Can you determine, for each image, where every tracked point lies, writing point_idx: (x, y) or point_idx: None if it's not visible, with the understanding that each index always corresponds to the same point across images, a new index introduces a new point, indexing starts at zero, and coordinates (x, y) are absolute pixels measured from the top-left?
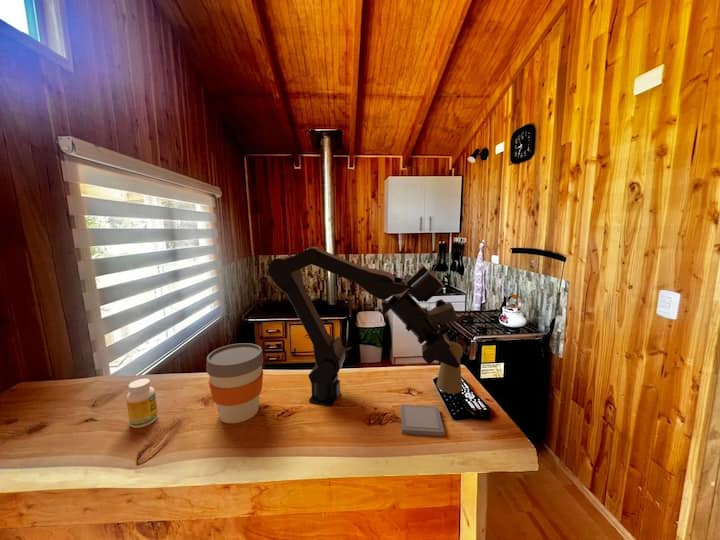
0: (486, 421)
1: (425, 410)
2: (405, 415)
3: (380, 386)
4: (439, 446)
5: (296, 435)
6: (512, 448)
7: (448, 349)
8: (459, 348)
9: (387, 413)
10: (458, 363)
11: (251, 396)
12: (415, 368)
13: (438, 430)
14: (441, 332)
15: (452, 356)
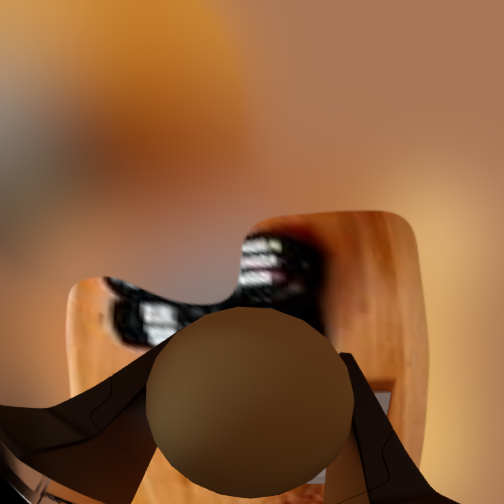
0: (332, 262)
1: None
2: (318, 476)
3: (164, 490)
4: (413, 403)
5: None
6: (416, 241)
7: (435, 493)
8: (327, 366)
9: (287, 501)
10: (359, 368)
11: None
12: (75, 370)
13: (384, 406)
14: (62, 471)
15: (390, 432)
